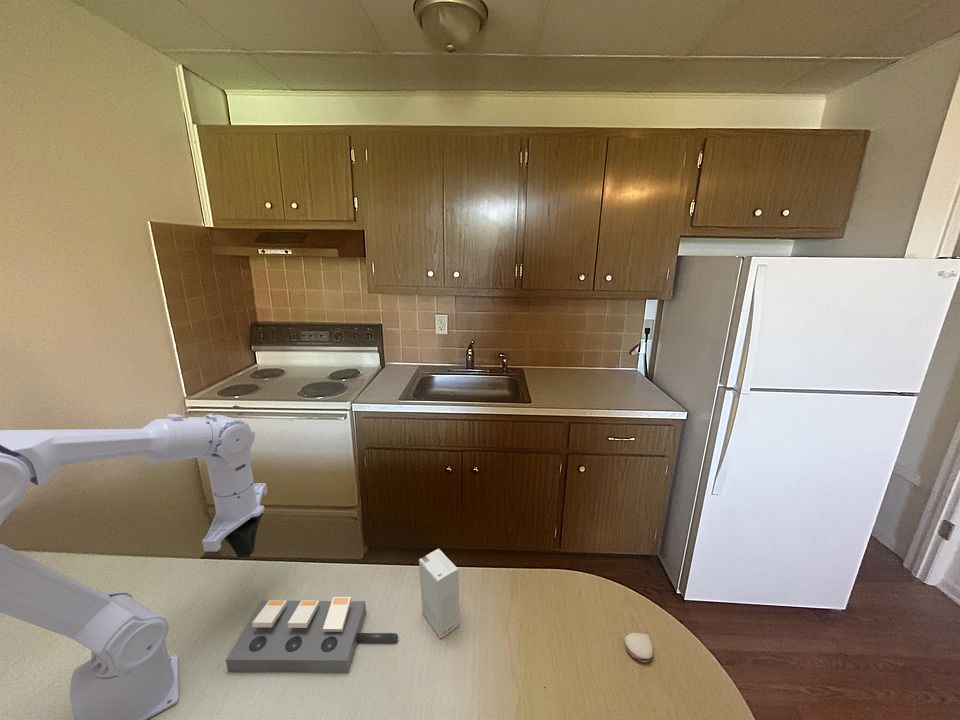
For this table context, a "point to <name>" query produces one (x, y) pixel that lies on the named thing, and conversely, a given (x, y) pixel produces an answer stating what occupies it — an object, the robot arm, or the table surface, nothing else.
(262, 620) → the white rectangular block
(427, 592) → the skincare box
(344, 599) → the rocker
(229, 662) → the power strip
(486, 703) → the table surface
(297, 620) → the rocker
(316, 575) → the table surface
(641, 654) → the white rounded oval piece
